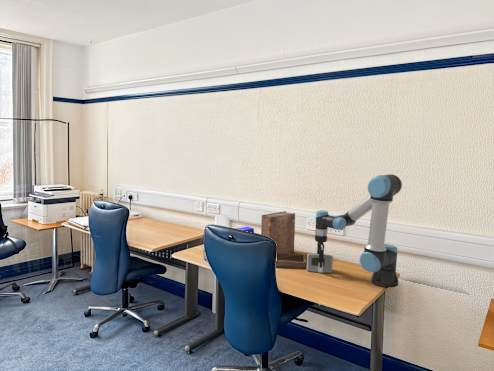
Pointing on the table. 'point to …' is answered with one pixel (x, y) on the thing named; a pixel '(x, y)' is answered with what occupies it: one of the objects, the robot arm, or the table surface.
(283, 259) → the brown rectangular tray
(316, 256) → the digital clock
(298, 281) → the table surface
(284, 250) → the book
